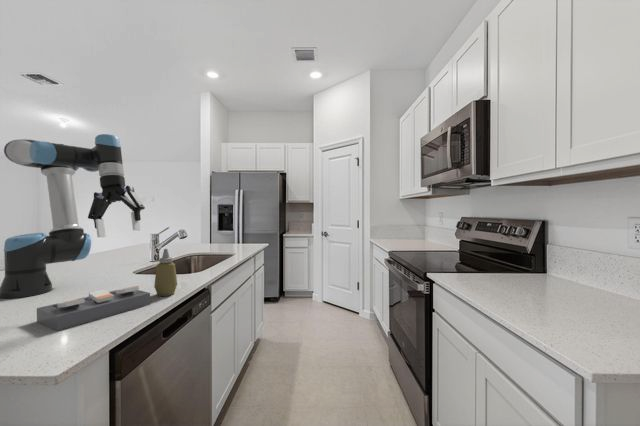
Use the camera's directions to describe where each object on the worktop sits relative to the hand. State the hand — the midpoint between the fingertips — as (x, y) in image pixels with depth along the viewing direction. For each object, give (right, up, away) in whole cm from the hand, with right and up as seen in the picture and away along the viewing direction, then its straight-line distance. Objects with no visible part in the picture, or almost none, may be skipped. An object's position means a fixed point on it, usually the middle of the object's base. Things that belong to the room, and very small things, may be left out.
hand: (119, 233), depth 106 cm
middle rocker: (+2, -19, -11) cm, 22 cm away
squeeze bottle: (+12, -25, +10) cm, 29 cm away
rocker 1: (-2, -20, -18) cm, 27 cm away
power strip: (-3, -25, -8) cm, 26 cm away
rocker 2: (+5, -19, -4) cm, 20 cm away
